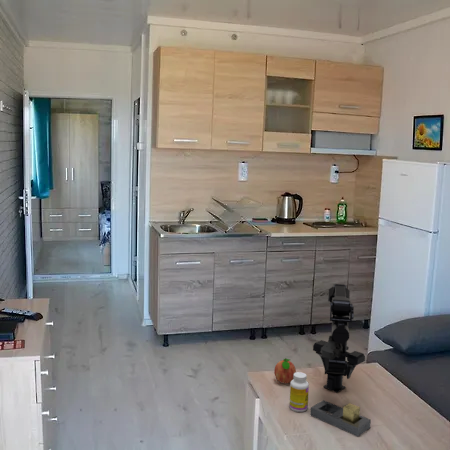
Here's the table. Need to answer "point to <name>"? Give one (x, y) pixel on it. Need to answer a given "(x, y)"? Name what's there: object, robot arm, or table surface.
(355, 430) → the grey block holder tray
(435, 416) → the table surface
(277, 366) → the fruit
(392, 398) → the table surface
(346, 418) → the olive grained block
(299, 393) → the supplement bottle
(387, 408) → the table surface
